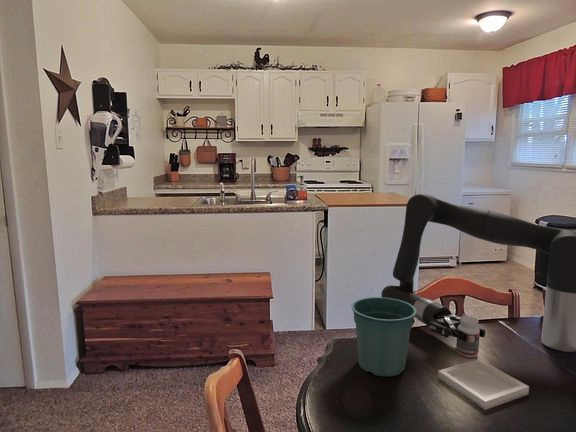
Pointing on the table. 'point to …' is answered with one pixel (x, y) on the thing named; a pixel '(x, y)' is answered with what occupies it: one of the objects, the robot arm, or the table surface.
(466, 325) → the pill bottle
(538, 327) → the table surface
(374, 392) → the table surface
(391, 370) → the flower pot
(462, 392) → the tray
